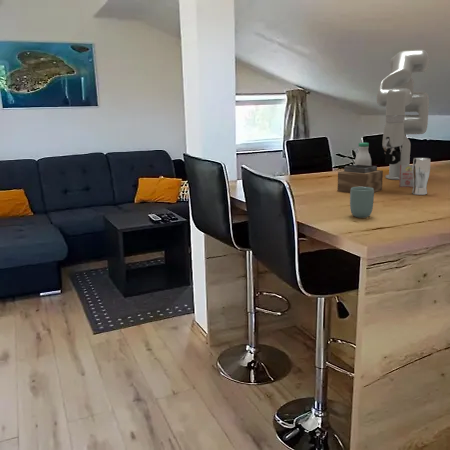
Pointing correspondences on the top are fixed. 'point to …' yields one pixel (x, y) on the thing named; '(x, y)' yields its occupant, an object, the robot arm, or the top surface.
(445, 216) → the top surface
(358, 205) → the cup
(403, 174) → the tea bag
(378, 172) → the housing
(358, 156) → the milk bottle
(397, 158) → the billiard ball
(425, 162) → the beer glass
